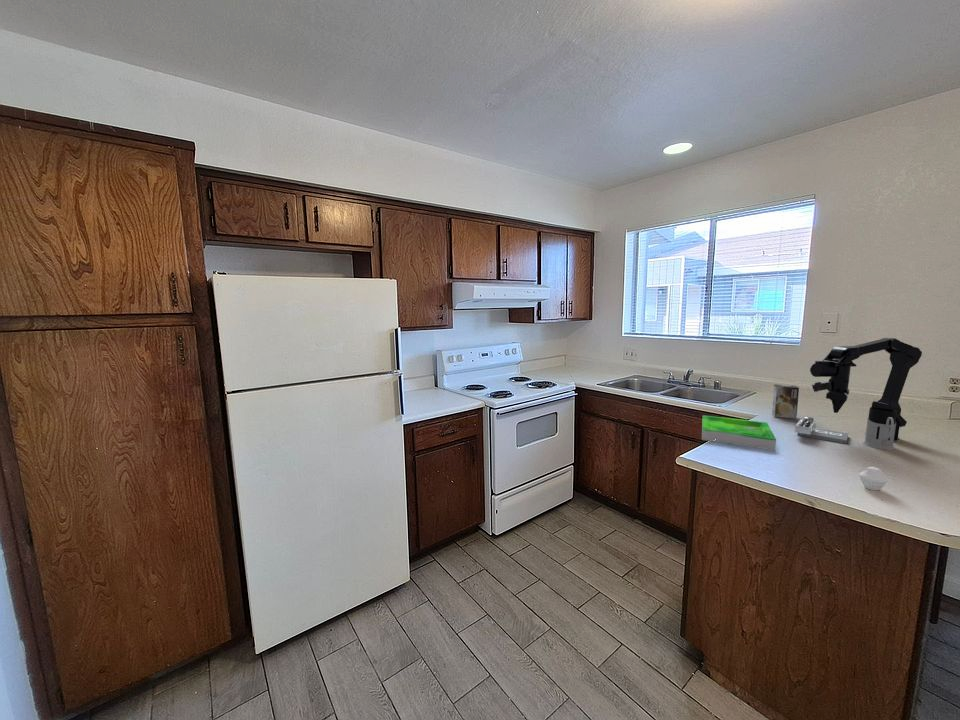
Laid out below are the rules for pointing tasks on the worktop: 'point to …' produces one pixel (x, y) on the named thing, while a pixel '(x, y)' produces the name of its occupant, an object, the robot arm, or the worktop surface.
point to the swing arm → (805, 425)
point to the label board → (827, 435)
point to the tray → (738, 432)
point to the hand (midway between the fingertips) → (835, 412)
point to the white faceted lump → (873, 478)
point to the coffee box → (785, 401)
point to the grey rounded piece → (880, 428)
